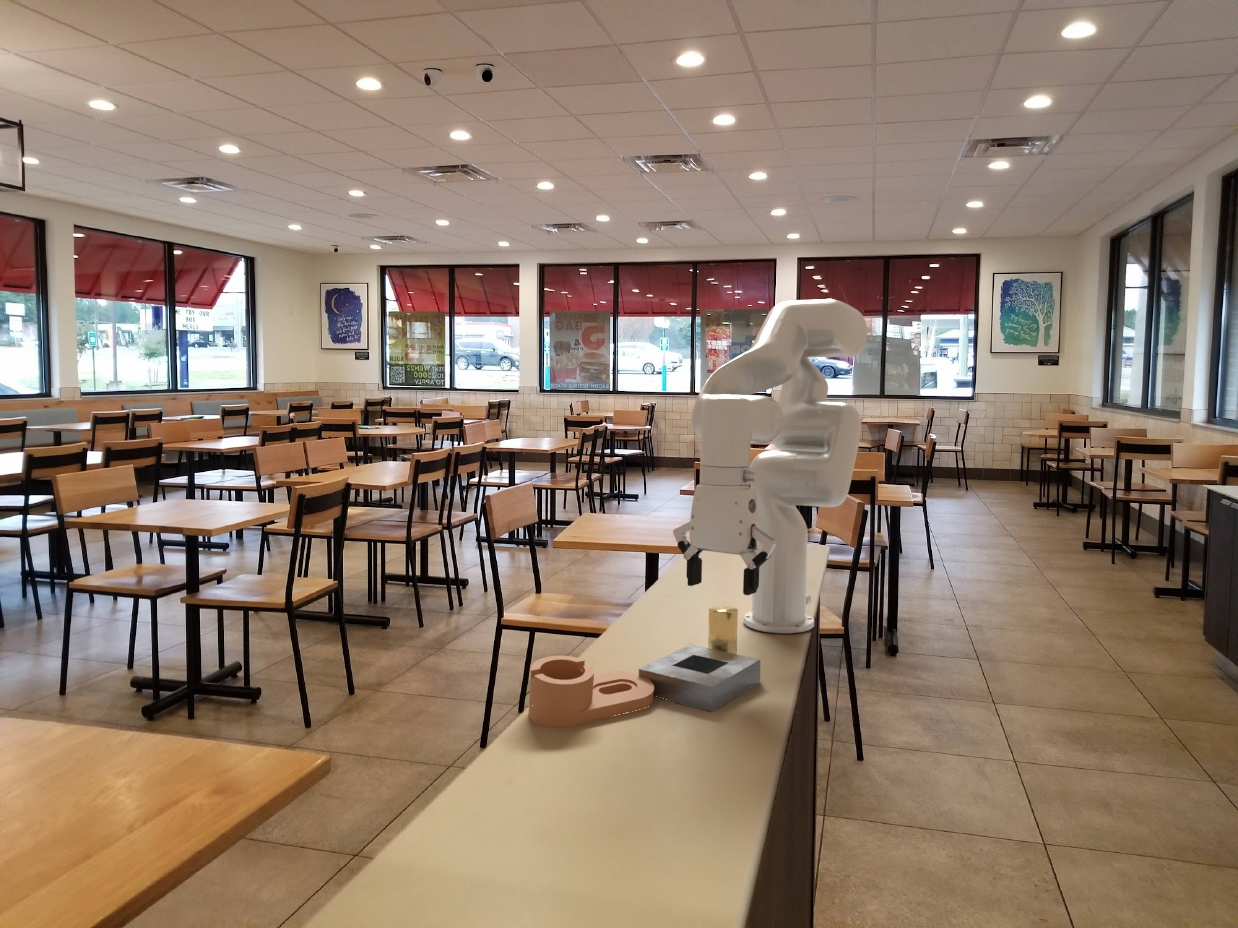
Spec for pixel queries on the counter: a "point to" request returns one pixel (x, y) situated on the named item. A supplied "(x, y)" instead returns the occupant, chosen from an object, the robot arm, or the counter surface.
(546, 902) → the counter surface
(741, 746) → the counter surface
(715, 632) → the gold rounded cylinder
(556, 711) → the bracket
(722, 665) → the plate
